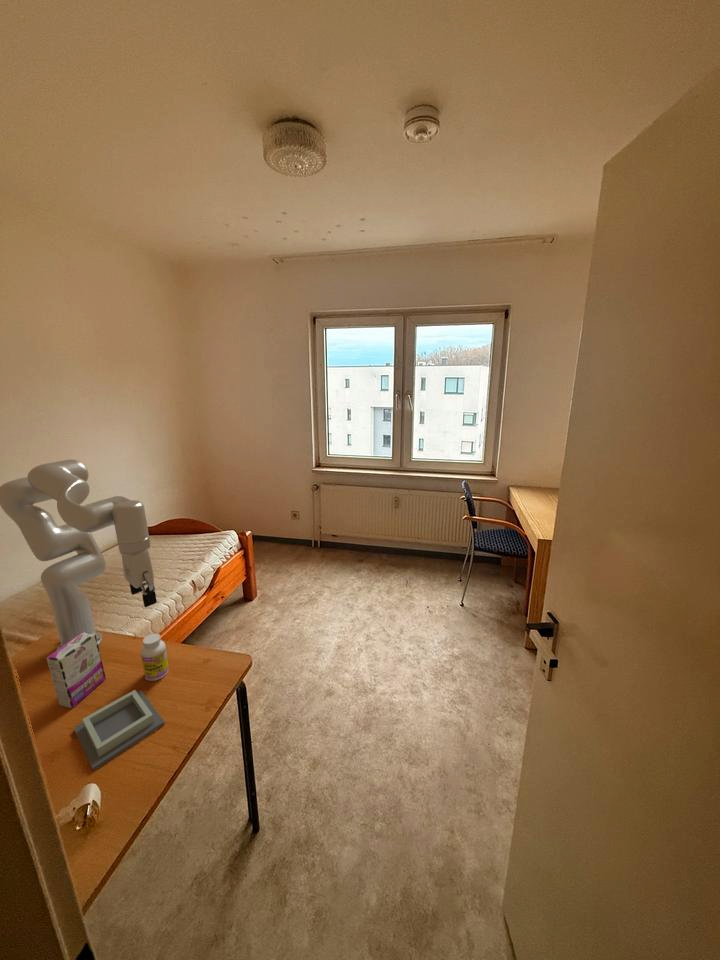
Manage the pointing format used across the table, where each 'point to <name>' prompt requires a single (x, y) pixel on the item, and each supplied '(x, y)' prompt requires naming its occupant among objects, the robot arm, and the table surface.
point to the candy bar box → (76, 669)
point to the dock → (117, 727)
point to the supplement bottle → (154, 657)
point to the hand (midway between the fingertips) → (143, 598)
